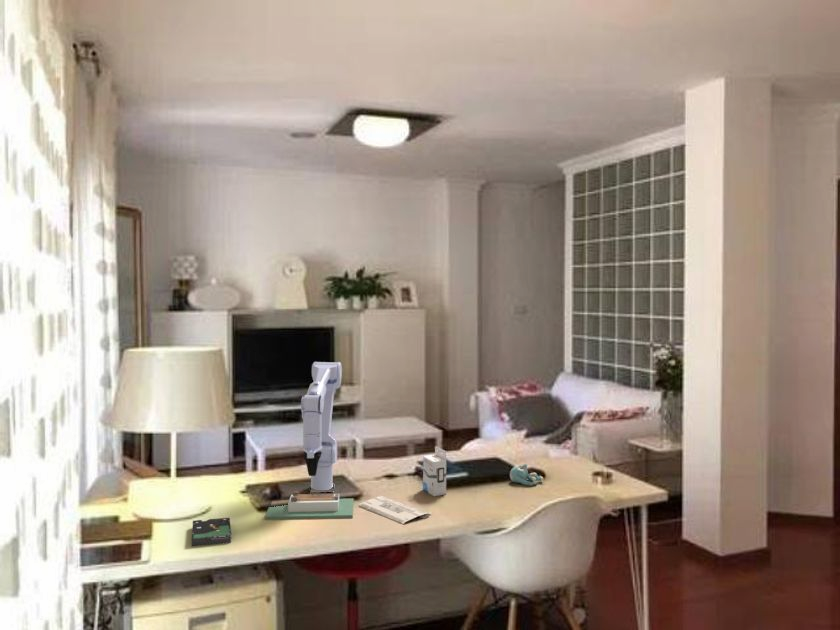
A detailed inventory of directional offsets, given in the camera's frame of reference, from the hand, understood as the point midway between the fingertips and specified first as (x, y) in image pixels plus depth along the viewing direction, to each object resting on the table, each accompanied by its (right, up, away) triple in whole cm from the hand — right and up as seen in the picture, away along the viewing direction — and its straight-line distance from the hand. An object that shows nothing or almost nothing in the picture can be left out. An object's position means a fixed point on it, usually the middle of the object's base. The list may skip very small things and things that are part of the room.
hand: (312, 475), depth 217 cm
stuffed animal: (+72, -9, +27) cm, 77 cm away
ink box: (+39, -9, +14) cm, 43 cm away
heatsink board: (0, -10, -5) cm, 11 cm away
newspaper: (+26, -11, -4) cm, 29 cm away
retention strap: (+1, -6, -5) cm, 8 cm away
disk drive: (-24, -11, -26) cm, 37 cm away
